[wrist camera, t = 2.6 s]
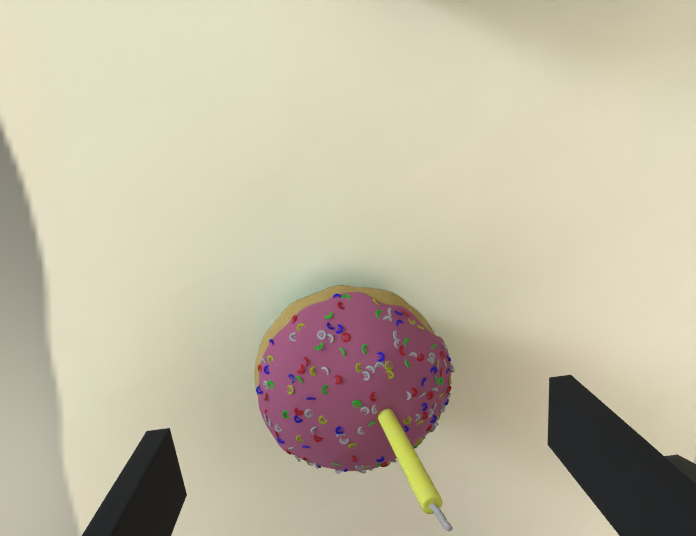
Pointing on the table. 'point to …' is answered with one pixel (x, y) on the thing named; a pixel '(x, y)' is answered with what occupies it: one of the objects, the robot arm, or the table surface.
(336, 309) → the cupcake
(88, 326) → the table surface
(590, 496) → the robot arm
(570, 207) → the table surface
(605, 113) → the table surface
